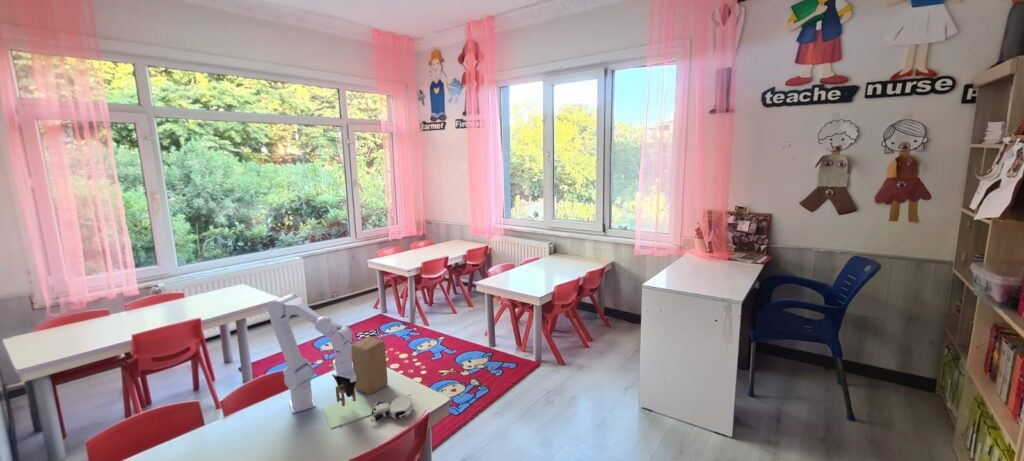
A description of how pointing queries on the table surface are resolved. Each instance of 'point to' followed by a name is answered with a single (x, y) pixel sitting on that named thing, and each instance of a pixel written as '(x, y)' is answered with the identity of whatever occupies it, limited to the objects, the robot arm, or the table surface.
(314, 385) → the table surface
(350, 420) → the sage mat
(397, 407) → the robot toy
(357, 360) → the wooden block
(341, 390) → the brown handled box
